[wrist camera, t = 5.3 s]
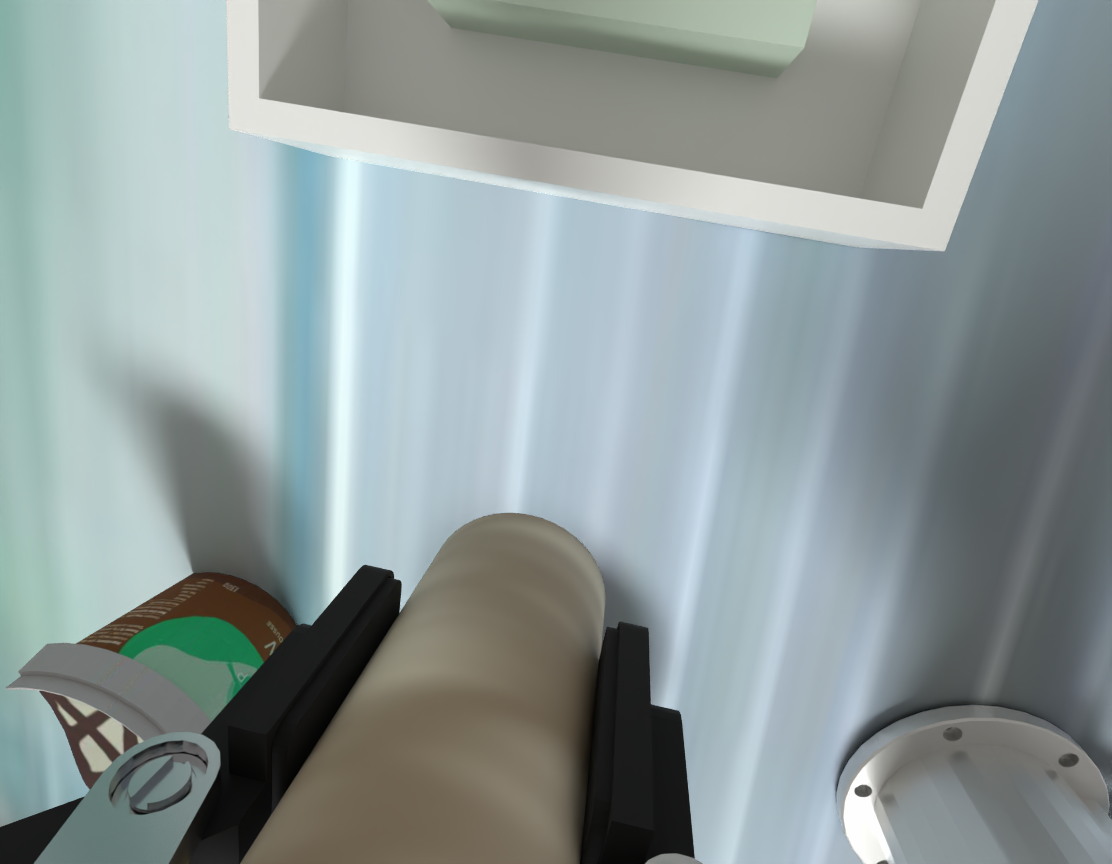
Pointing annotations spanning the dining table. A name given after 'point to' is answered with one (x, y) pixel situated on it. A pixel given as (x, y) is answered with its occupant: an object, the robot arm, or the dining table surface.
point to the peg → (462, 716)
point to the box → (650, 101)
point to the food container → (157, 666)
